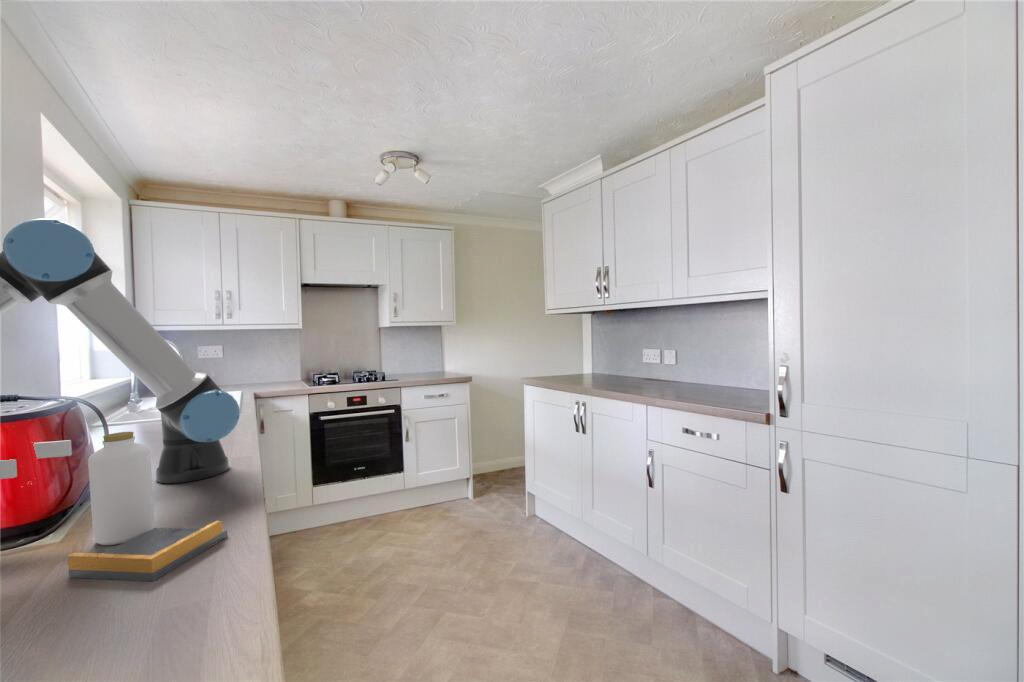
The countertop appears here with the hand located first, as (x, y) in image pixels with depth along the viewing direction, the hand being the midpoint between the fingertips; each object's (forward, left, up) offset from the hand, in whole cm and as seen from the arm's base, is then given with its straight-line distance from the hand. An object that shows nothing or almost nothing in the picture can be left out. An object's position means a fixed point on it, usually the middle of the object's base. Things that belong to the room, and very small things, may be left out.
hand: (45, 457), depth 78 cm
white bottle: (-5, +9, -15) cm, 19 cm away
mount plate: (+1, +21, -15) cm, 26 cm away
